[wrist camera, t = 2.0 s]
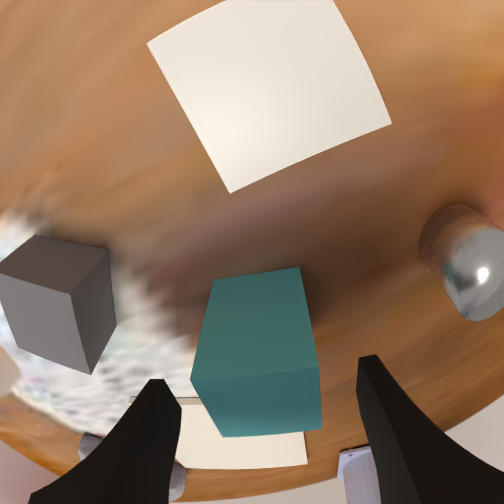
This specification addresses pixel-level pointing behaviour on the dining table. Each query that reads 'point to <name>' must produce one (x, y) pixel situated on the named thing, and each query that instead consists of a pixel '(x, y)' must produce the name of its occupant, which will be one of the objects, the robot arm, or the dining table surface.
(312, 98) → the off-white block
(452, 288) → the grey cylinder
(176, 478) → the stone block
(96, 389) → the dining table surface
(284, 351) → the teal block
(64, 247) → the charcoal block
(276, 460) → the coaster
